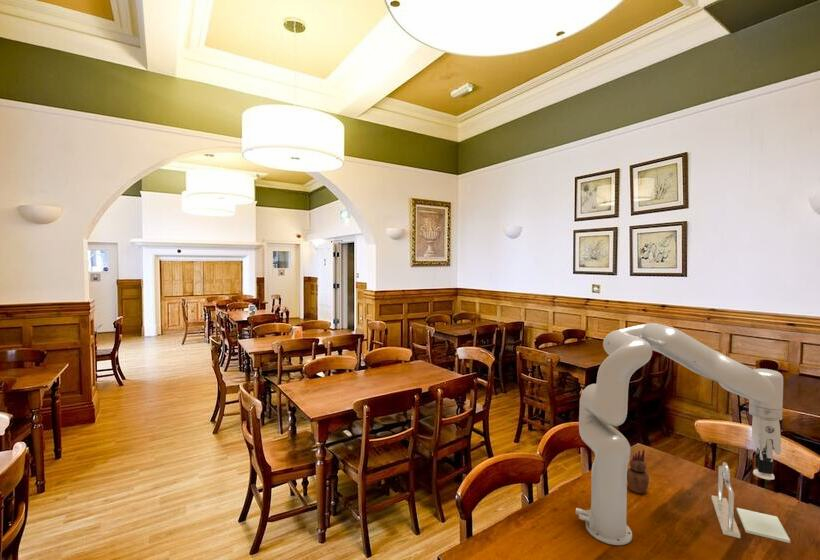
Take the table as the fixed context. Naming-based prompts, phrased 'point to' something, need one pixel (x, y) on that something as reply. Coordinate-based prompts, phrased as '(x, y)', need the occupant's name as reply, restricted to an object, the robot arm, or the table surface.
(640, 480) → the wooden figurine
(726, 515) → the silver metal frame stand
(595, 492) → the robot arm
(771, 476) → the chess piece
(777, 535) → the pad
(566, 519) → the table surface
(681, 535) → the table surface
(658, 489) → the table surface
